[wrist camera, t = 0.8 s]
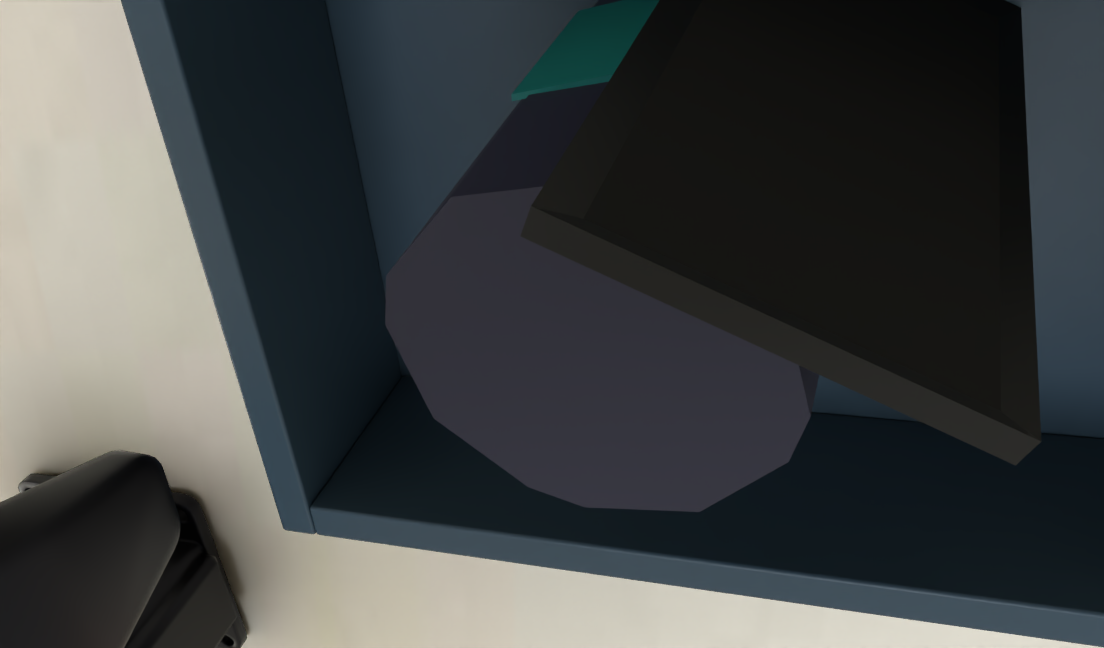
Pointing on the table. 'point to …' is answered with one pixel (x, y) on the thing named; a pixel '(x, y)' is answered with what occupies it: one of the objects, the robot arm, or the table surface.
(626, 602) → the table surface
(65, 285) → the table surface
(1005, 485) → the tub
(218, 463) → the table surface
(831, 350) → the speaker
